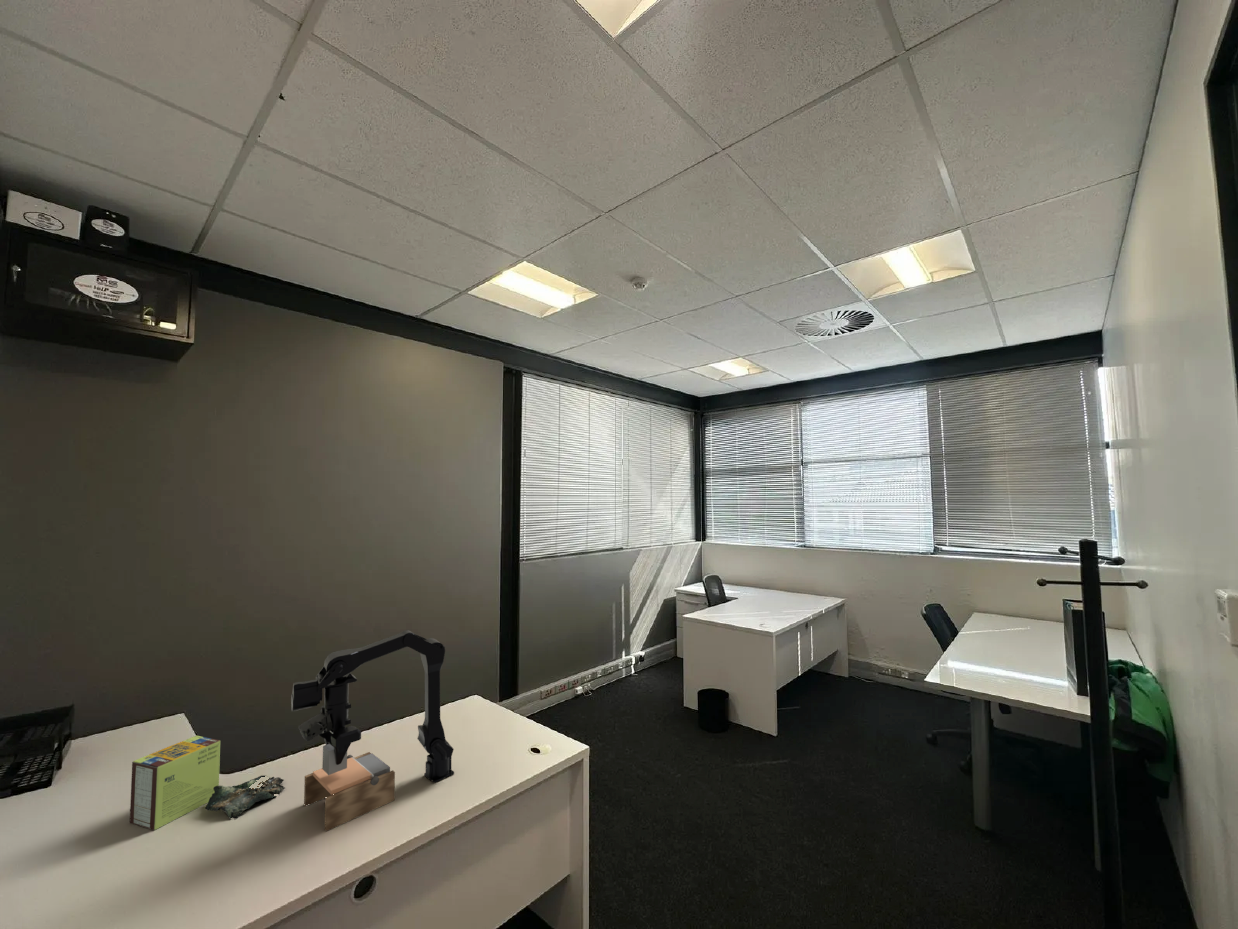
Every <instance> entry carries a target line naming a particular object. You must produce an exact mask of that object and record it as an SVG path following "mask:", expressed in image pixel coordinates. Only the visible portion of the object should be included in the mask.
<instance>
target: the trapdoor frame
mask: <svg viewBox="0 0 1238 929" xmlns="http://www.w3.org/2000/svg"><path fill="white" fill-rule="evenodd" d="M369 754H371V752H370V751H369V752H365V753H363V754H360V755H358V756H353V755H352V754H347V759H349V758H351V757H353V758H354V759H358V758H361V757H363V756H366V755H369ZM395 773H396V772H395V771H394V770H390V772H388V773H385V774H383V775H380V776H378V777H377V776H374V777H373V778H372V779H370V780H368V781H366V782H362V783H359V784H357V785H354V786H352V787H349V788H347V789H345V790H342V791H340V792H337V793H335V794H334V795H333V794H332V795H331V794H330V793H329V792H328V791H327V790H326V789H325V788H324V787H323V786H322V785H321V784H320V783H319V782H318V780H317V779H316V778H315V777H314V776H313V772H312V773H308V774H305V775H304V788H303V789H304V790H303V791H304V792H303V794H304V795H303V805H304V804H305V805H304V807H307V806H306V805H308V804H310V805H312V804H314V802H315V803H317V802H319V800H320V801H322V800H324V798H325V797H327V798H325V800H324V803H325V804H324V830H325V832H327V831H330V830H333V829H334V828H336V827H337V828H338V826H341V825H343V824H346V823H347V822H350V821H353V820H355V819H357V818H359V817H361V816H363V815H365V814H367V813H370V812H372V811H374V810H376V809H378V808H380V807H383V806H385V805H387V804H389V803H391V802H393V801H395V797H396V796H395V794H396V793H395V790H396V789H395V788H396V787H395V786H396V783H395V781H396V780H395V779H396V778H395V777H396V776H395V775H396V774H395ZM316 801H317V802H316ZM308 806H309V805H308Z"/></svg>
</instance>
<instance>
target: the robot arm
mask: <svg viewBox="0 0 1238 929" xmlns="http://www.w3.org/2000/svg"><path fill="white" fill-rule="evenodd" d="M405 648H410V649H412V650H414V651H416V652H417V653H419V654H420V659H421V664H422V665H423V666H422V667H423V669H424V720H423V723H422V725H421V724H420V725H417V729H418V730H417V731H418V735H417V740H418V741H419V744H420V745H421V746H422V747H423V749H424V750H425V752H427V755H426V761H425V772H424V777H426V778H427V779H429V780H430V781H431V782H433V783H437V782H439V781H442V780H444V779H447V778H449V777H450V776H452V775H455V771H454V770H452V756H453V753H454V750H455V749H454V748H453V746H452V745H451V744H450V743H449V741H447V740H446V735H445V734H446V733H445V730H444V726H443V723H442V720H441V670H442V667H443V664H444V662H445V654H446V647H445V646H444V644H443V643H441V642H440V641H438V640H437V639H436V638H433V637H429V638H426V637H423V636H421V635H419V634H416V633H414V632H413V631H411V630H409V629H407V630H403V631H401V632H399V633H397V634H394V635H391V636H388V637H386V638H383V639H380V640H377V641H374V642H372V643H370V644H367V645H364V646H362V647H361V646H360V647H356V648H346V649H341V650H337V651H333V652H330V653H329V654H328V655H327V657H326V658H325V659H324V662H323V664H324V665H323V666H322V668H321V669H320V670H319V671H318V673H317V674H316V676H315V678H314V679H311V680H305V681H295V682H293V683H292V684H293V685H292V693H291V696H290V697H291V698H290V702H291V703H290V704H291V705H290V706H291V712H297V711H299V710H300V711H301V710H305V709H309V708H314V707H318V704H321V701H324V704H323V705H321V707H320V710H319V713H318V714H316V715H314V716H312V717H310V718H308V719H306V721H304V722H302V723H300V725H298V730H299V732H300V735H301V737H302V739H304V740H305V742H310V741H312V740H313V739H314V738H316V737H318V736H320V737H321V738H323V740H324V744H325V745H327V744H330V745H331V746H333V747H334V754H335V761H336V765H339V764H341V762H342V760H343V758H344V756H345V754H346V752H347V753H348V750H349V749H350V748H349V747H350V746H351V744H352V743H355V742H357V741H360V740H362V730H360V729H359V728H357V727H356V726H354V725H350V724H352V723H351V722H352V720H351V718H349V709H351V708H352V703H350V702H349V695H350V694H349V692H350V691H349V690H350V687H349V686H350V685H349V684H351V683H356V682H357V681H358V678H357V677H356V676H355V675H354V674H352V672H354V671H355V670H357V669H358V668H359V667H361V666H362V665H364V664H366V663H368V662H371V661H374V660H376V659H378V658H381V657H384V656H387V655H389V654H391V653H394V652H397V651H399V650H402V649H405ZM323 689H324V695H323ZM323 696H324V700H323ZM348 725H350V726H348Z"/></svg>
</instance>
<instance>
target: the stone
mask: <svg viewBox="0 0 1238 929" xmlns="http://www.w3.org/2000/svg"><path fill="white" fill-rule="evenodd" d="M347 756H348V751H347V752H346V754H345V756H344V758H343V760H342V762H341V764H339V765H336V761H335V754H334V747H333V746H331V745H330V744H327V745H326V744H325V745H323V746H322V764H321V765H322V766H321V767H322V768H321V769H323V770H324V771H325V772H326V773H327V774H328V775H330V774H333V773H336V772H338V771H341V770H343V769H346V768H347Z"/></svg>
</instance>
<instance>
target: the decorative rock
mask: <svg viewBox="0 0 1238 929" xmlns="http://www.w3.org/2000/svg"><path fill="white" fill-rule="evenodd" d="M265 776H266V775H263V774H262V775H260V776H258V777H255V778H253V779H250V780H248V781H245V782H242V783H240V784H238V785H232V786H231V785H219V786H218V785H217V786H215V787H214V788H213V789H214V792H215V793H213V794H212V796H211V797H210V799H209V801H208V803H206V806H205V808H204V809H206V810H207V811H211V812H214V811H215V812H217V811H220V810H221V811H222V812H224V813H225V814H226V815H227V817H228V818H229V819H230V820H232V819H234V820H237V819H238V818H239V817H241V815H242V813H243V812H244V811H245V810H249V809H251V807H252V806H253V805H255V804H256V803H258V802H260V801H264V800H267V799H268V800H269V799H274V798H275V796H274V794H279V795H280V794H281V792H283V790H285V789H286V787H284V785H282V783H283V782H284V781H285V779H282V778H281V777H274V776H272V777H269V779H268V780H266V781H265V782H263V781H262V782H260V783H259V784H258V785H260V784H261V783H262V784H263V785H262V786H261V787H260V788H255V789H254V788H252V789H251V788H249V787H250V786H251V785H252V784H254V783H255V782H257V781H256V780H259V779H260V778H261V777H265ZM257 787H259V786H257ZM273 797H274V798H273Z"/></svg>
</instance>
